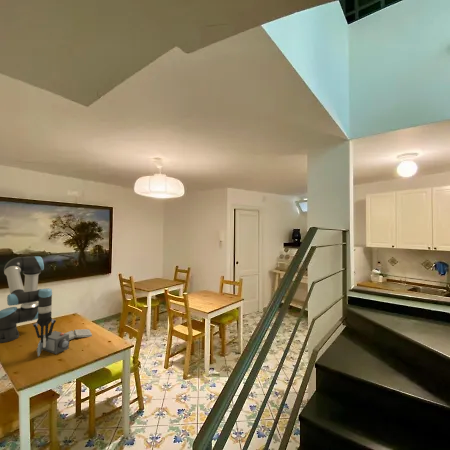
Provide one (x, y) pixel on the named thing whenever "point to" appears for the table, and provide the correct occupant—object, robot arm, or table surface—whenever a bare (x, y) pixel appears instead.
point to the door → (39, 348)
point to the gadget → (79, 333)
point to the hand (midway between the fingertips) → (44, 346)
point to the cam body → (57, 342)
